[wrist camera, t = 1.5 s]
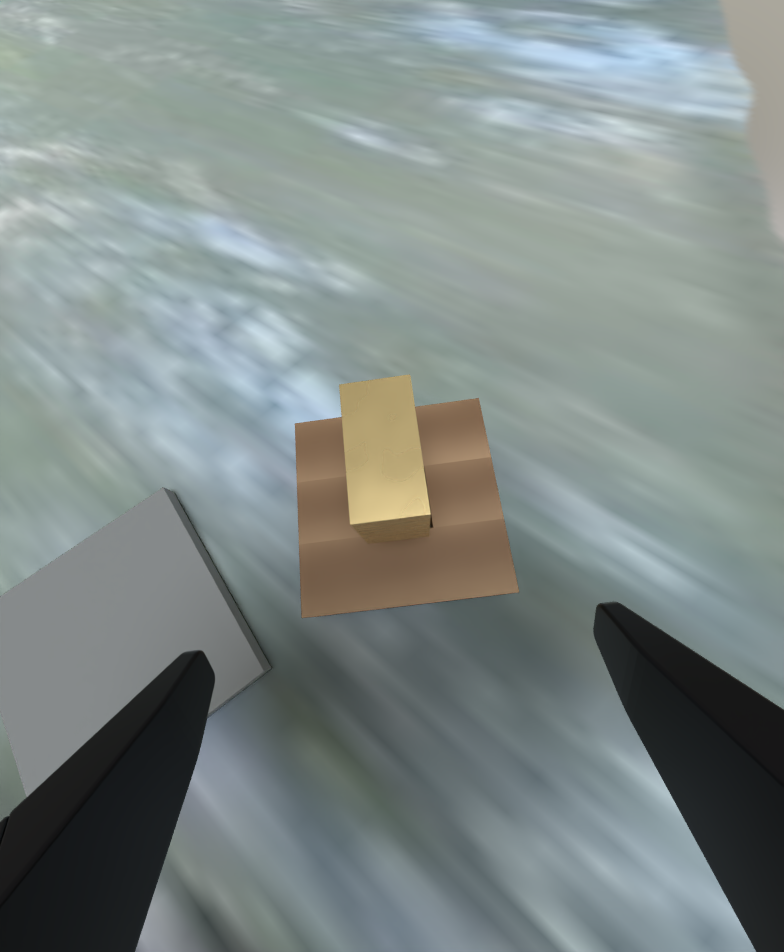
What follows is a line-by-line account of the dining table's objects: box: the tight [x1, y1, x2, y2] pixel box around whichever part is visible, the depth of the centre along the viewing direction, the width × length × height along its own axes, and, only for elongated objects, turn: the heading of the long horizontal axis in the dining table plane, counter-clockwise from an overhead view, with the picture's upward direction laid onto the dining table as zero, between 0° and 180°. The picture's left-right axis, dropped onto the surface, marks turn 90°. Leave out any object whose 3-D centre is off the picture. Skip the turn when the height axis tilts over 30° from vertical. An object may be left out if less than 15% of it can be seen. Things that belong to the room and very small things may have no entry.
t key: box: [339, 375, 431, 544], centre depth 18 cm, size 5×2×10 cm, turn 7°
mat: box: [0, 488, 271, 797], centre depth 21 cm, size 12×12×1 cm
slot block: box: [295, 398, 519, 618], centre depth 21 cm, size 10×10×3 cm
